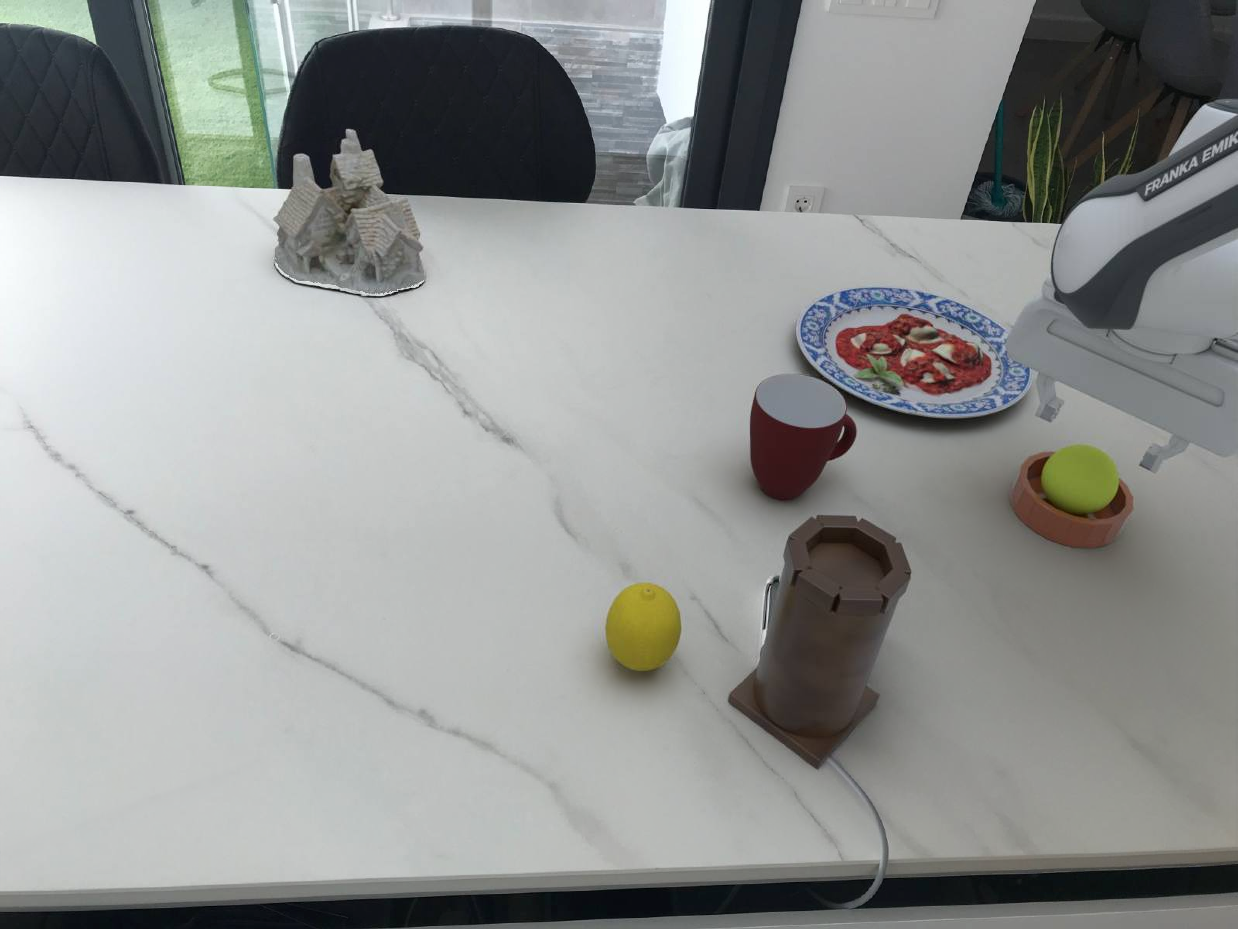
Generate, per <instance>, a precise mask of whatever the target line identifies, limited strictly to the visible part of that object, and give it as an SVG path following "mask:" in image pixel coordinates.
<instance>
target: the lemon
mask: <svg viewBox="0 0 1238 929" xmlns="http://www.w3.org/2000/svg"><path fill="white" fill-rule="evenodd" d="M681 618H682V617H681V612H680V608H679V606H678V604H677V602H676V599H675V598H674V597H673V595H672V594H671V593H670V592H669V591H668V590H666V589H665V588H663V587H662V586H660V585H658V584H655V583H650V582H638V583H633V584H631V585H629V586H627V587H625V588H624V589H622V590H621V591H620V592H619V593H618V594H617V595H616V596H615V598H614V600H613V601H612V603H611V605H610V607H609V609H608V612H607V616H606V620H605V621H606V622H605V630H604V631H605V640H606V644H607V646H608V649H609V650H610V652H611V654H612V656H613V657H614V658H615V659H616V660H617V662H618V663H620V664H621V665H622V666H624V667H625V668H628V669H630V670H633V671H638V672H647V671H651V670H655V669H657V668H659V667H661V666H663V665H664V664H665V663H667V662H668V661H669V660H670V659H671V657H672V656H673V654H674V653H675V651H676V650H677V648H678V646H679V642H680V638H681V634H682V619H681Z"/></svg>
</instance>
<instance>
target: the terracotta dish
mask: <svg viewBox="0 0 1238 929" xmlns="http://www.w3.org/2000/svg"><path fill="white" fill-rule="evenodd" d="M1055 452H1056V451H1042V452H1038V453H1036V454H1033V455H1030V456H1028V457H1027V458H1026V459H1025V460H1024V461H1023V463H1021V464H1020V466H1019V469H1018V471H1017V473H1016V475H1015V478H1014V480H1013V483H1012V486H1011V489H1010V492H1009V502H1010V505H1011V507H1012V510H1013V511H1014V513H1015V515H1016V516H1017V517H1018V519H1020V521H1021V522H1022V523H1023V524H1024V525H1026V527H1028V528H1029V529H1030V530H1032V531H1034V532H1035V533H1036V534H1038V535H1040V536H1041V537H1043V538H1045V539H1048V540H1050V541H1052V542H1055V543H1058V544H1060V545H1063V546H1068V547H1072V548H1079V549H1081V548H1082V549H1095V548H1101V547H1104V546H1107V545H1110V544H1111V543H1113V542H1114V541H1115V540H1116V539H1117V538H1118V537H1119V535H1120V534H1121V532H1122V530H1123V529H1124V527H1125V526H1126V523H1127V522H1128V521H1129V518H1130V517H1131V515H1132V513H1133V511H1134V496H1133V494H1132V492H1131V490H1130V488H1129V486H1128V485H1127V483H1126V482H1125V481H1124V480H1122V478H1121V477H1119V485H1118V489H1117V492H1116V495H1115V496H1114V498H1113V499H1112V501H1111V502H1110V503H1109V504H1108V505H1107V506H1105V507H1104V508H1103V509H1101V510H1099V511H1097V512H1094V513H1091V514H1086V515H1074V514H1069V513H1066V512H1063V511H1061V510H1060V509H1058V508H1056V507H1055V506H1054V505H1053V504H1052V503H1051V502H1050V501H1049V500H1048V499H1047V497H1046V496H1045V494H1044V491H1043V488H1042V484H1041V476H1042V471H1043V468H1044V466H1045V464H1046V462H1047V461H1048V459H1049V458H1050V457H1051V456H1052V455H1053V454H1054V453H1055Z"/></svg>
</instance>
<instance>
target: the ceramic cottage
mask: <svg viewBox="0 0 1238 929" xmlns="http://www.w3.org/2000/svg"><path fill="white" fill-rule="evenodd" d="M345 137H346V138H343V139H341V143H340V153H338V154H332V160H331V162H330V174H329V178H330V180H331V183H332V184H331V187H328V188H321V187H320V186H319V185H318V184H317V183H316V181H315V174H314V171H313V167H312V164H311V163H312V162H311V159H310V156H309V155H307V154H305V153H296V154H294V155H293V160H292V161H293V162H292V164H293V166H292V168H293V171H292V172H293V173H292V183H293V184H292V187H291V190H290V191H289V194H288V196H287V197H286V199H285V200H284V201H283V203H282V206H281V208H280V209H279V210H278V211H277V215H275V216H274V217H273V218H272V221H274V222H275V223H276V225H277V226H278V227H279V228H278V230H277V232H276V235H277V242H278V244H277V246H276V247H275V248H274V262H275V261H276V263H277V264H278V267H279V268H280V269H281V270H282V271H283V272H284V273H285V274H287V275H289V277H291V278H294V279H296V280H298V281H310V282H313V283H315V282H316V283H318V282H319V283H321V284H331V285H336V286H338V287H340V288H348V289H351V290H356V291H359V292H360V291H363V292H365V293H369V294H370V293H371V294H375V293H376V294H377V293H378V294H380V293H383V294H384V293H385V292H387V293H389V292H390V291H391V292H392V291H397V289H401V288H407V287H411V286H412V285H413V286H414V285H415V284H418V283H419V282H421V281H423V280H424V278H425V279H426V274H425V275H424V273H425V270H424V267H423V264H421V263H422V260H421V261H420V259H421V256H420V253H421V252H422V251H423V250H424V246H423V245H422V243H421V242H420V240H419V239H420V238H421V231H420V229H419V227H418V225H417V221H416V219H415V216H414V214H413V212H412V207H411V204H410V202H409V200H408V199H409V198H408V197H407V195H405V196H402V197H392V198H391V199H390V198H389V195H387V194H386V193H385V192H384V191H383V190H381V187H382V186H383V185H384V179H383V178H382V175H381V171H380V167H379V165H378V162H377V160H376V157H375V153H374V151H373V150H372V149H367V150H364V151H363V150H362V147H361V143H360V140H359V138H358V135H357V131H356V130H354V129H351V128H346V129H345ZM275 258H276V259H275ZM422 267H423V268H422Z"/></svg>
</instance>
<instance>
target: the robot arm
mask: <svg viewBox="0 0 1238 929" xmlns="http://www.w3.org/2000/svg"><path fill="white" fill-rule="evenodd" d="M1005 347H1006V351H1007V354H1008V356H1009V358H1010V359H1011V360H1013V361H1015V362H1017V363H1020V364H1022V365H1024V366H1026V367H1028V368H1030V369H1033V371H1035V372H1037V373H1038V374H1037V376H1036V379H1035V386H1036V390H1037V394H1038V398H1039V399H1038V400H1039V401H1040V403H1039V405H1038V407H1037V409H1036V412H1035V416H1036V417H1038V418H1040V419H1041V420H1044V421H1046V422H1048V423H1052V422H1053V421H1054V420H1055V419H1056V418H1057V417H1058V416H1059V414H1060V412H1061V408H1062V407H1063V405H1064V403H1065V400H1064V399H1062V398H1060V397H1058V396H1057V392H1056V391H1057V390H1056V384H1055V383H1056V382H1058V383H1061V384H1063V385H1065V386H1067V387H1069V388H1071V389H1074V390H1076V391H1078V392H1080V393H1082V394H1084V395H1086V396H1089V397H1091V398H1093V399H1095V400H1098V401H1099V402H1102V403H1104V404H1106V405H1108V406H1111V407H1112V408H1114V409H1117V410H1119V411H1122V412H1123V413H1125V414H1128V415H1130V416H1131V417H1134V418H1136V419H1138V420H1141V421H1142V422H1145V423H1147V424H1150V425H1152V426H1153V427H1155V428H1157V429H1160V430H1163V431H1165V432H1166V433H1168V434H1171V437H1170V439H1169V440H1168V443H1167V444H1165V445H1164V446H1162V445H1159V444H1157V443H1155V442H1152V444H1150V447H1148V448H1147V450H1146V451H1145V453H1144V455H1143V456H1142V459H1140V460H1141V461H1140V462H1139V464H1138V466H1139V467H1140V468H1142V469H1145V470H1147V471H1148V472H1151V473H1153V474H1157V473H1158V472H1159V470H1160V469H1161V467H1162V466H1163V464H1164V463H1165V461H1167V460H1169V459H1170V458H1173V457H1176V456H1178V455H1179V454H1181V453H1184V452H1185V451H1186V450H1187V449H1188V448H1189V447H1190V445H1191V444H1193V445H1195V446H1196V447H1198V448H1201V449H1204V450H1206V451H1208V452H1210V453H1211V454H1214V455H1217V456H1218V457H1221V458H1229V457H1232V456H1236V455H1238V98H1222V99H1221V98H1220V99H1216V100H1214V101H1211V102H1208V103H1205V104H1203V105H1202V106H1201V107H1200V108H1199V109H1198V110H1197V112H1196V113H1194V115H1193V116H1192V117H1191V119H1190V120H1189V121H1188V123H1187V125H1186V126H1185V128H1184V129H1183V130H1182V132H1181V134H1180V135H1179V137H1178V139H1177V141H1175V144H1174V145H1173V147H1172V149H1171V151H1170V152H1169V154H1168V156H1167V157H1165V158H1163V159H1162V160H1159V161H1158V162H1156V163H1155V164H1154V165H1152V166H1150V167H1148V168H1146V169H1145V170H1142V171H1140V172H1137V173H1132V174H1116V175H1114V176H1112V177H1110V178H1108V179H1106V180H1105V181H1103V182H1102V183H1100V184H1099V185H1097V186H1096V187H1094V188H1092V189H1091V190H1089V192H1088V193H1086V194H1085V195H1084V196H1082V198H1080V199H1079V200H1078V201H1077V202H1076V203H1075V204H1074V205H1073V206H1072V207H1071V209H1069V211H1068V212H1067V214H1066V216H1065V217H1064V219H1063V221H1062V222H1061V225H1060V227H1059V229H1058V231H1057V234H1056V236H1055V240H1054V243H1053V248H1052V252H1051V258H1050V273H1049V274H1048V275H1047V276H1046V277H1045V279H1044V281H1043V284H1042V288H1041V291H1039V293H1037V294H1036V295H1035V296H1034V297H1033V298H1031V300H1029V301H1028V302H1027V303H1026V304H1025V306H1024V307H1023V308H1022V309H1021V311H1020V313H1019V315H1018V317H1017V319H1015V322H1014V324H1013V326H1012V328H1011V330H1010V334H1009V336H1008V338H1007V341H1006V344H1005Z"/></svg>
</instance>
